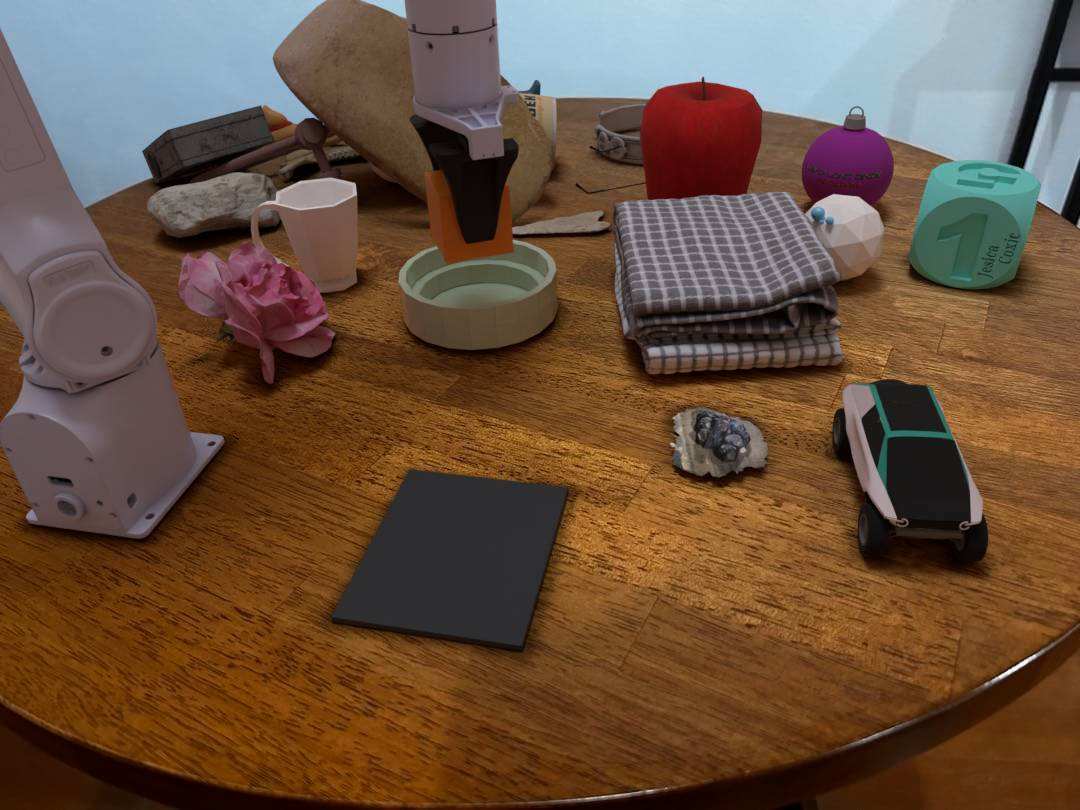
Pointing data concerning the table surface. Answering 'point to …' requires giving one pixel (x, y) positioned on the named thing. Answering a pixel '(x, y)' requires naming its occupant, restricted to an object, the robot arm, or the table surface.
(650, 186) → the apple
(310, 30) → the stone
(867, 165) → the christmas ornament
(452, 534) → the mat
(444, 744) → the table surface
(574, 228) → the stone tool
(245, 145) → the grey rectangular box
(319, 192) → the cup
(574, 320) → the table surface
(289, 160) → the jawbone
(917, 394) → the toy car
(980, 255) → the decorative dice
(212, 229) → the decorative stone
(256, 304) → the flower
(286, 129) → the toy
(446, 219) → the block
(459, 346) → the bowl
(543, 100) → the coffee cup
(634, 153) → the bracelet
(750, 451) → the blueberries
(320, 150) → the toilet paper hanger
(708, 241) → the towel
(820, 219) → the ornament
